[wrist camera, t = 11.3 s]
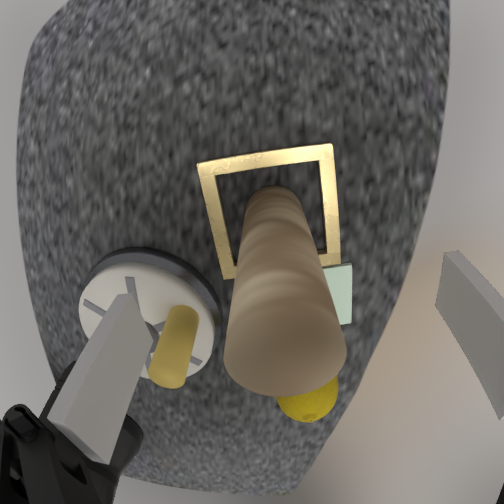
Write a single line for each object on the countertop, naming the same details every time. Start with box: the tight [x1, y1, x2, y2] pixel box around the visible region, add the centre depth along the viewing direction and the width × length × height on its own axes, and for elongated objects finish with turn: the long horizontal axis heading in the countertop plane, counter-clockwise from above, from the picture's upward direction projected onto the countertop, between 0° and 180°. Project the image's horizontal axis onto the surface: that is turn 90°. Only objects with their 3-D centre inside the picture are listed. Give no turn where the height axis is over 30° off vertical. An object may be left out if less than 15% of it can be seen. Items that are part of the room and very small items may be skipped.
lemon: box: [276, 375, 338, 423], centre depth 25 cm, size 6×6×8 cm
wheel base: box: [83, 247, 223, 354], centre depth 26 cm, size 13×13×1 cm
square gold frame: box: [197, 142, 341, 279], centre depth 22 cm, size 9×9×1 cm
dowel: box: [223, 185, 347, 397], centre depth 16 cm, size 4×4×14 cm
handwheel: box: [79, 262, 215, 389], centre depth 22 cm, size 12×12×8 cm
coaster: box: [322, 262, 352, 325], centre depth 25 cm, size 6×6×1 cm
